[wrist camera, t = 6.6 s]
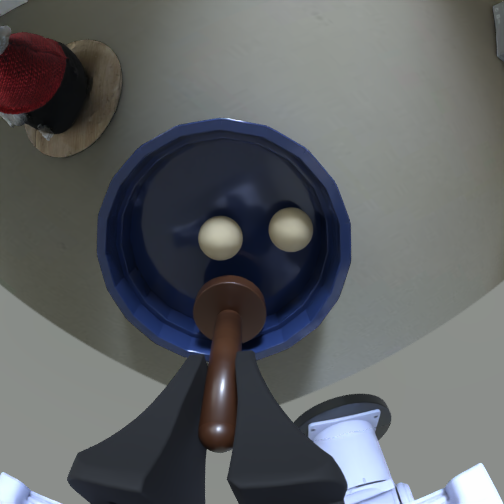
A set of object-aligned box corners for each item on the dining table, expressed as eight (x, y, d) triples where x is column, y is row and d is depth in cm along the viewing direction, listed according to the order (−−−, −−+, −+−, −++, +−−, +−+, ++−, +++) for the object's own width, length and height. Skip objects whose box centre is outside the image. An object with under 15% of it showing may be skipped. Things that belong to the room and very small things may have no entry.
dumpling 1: (245, 249, 17) (245, 264, 15) (205, 254, 18) (199, 269, 15) (240, 209, 17) (239, 218, 14) (198, 214, 17) (191, 225, 14)
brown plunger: (268, 331, 17) (284, 471, 8) (202, 337, 17) (176, 474, 8) (261, 270, 16) (277, 407, 7) (189, 278, 16) (137, 411, 7)
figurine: (-40, 141, 11) (-48, -6, 2) (62, 81, 17) (114, -46, 8) (10, 226, 13) (-10, 81, 4) (116, 145, 19) (196, 18, 11)
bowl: (333, 318, 20) (348, 347, 16) (149, 336, 20) (135, 367, 17) (323, 116, 15) (342, 108, 12) (104, 149, 16) (75, 151, 12)
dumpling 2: (309, 241, 17) (318, 255, 15) (269, 246, 17) (272, 261, 15) (306, 201, 17) (316, 209, 14) (264, 206, 17) (267, 215, 14)
